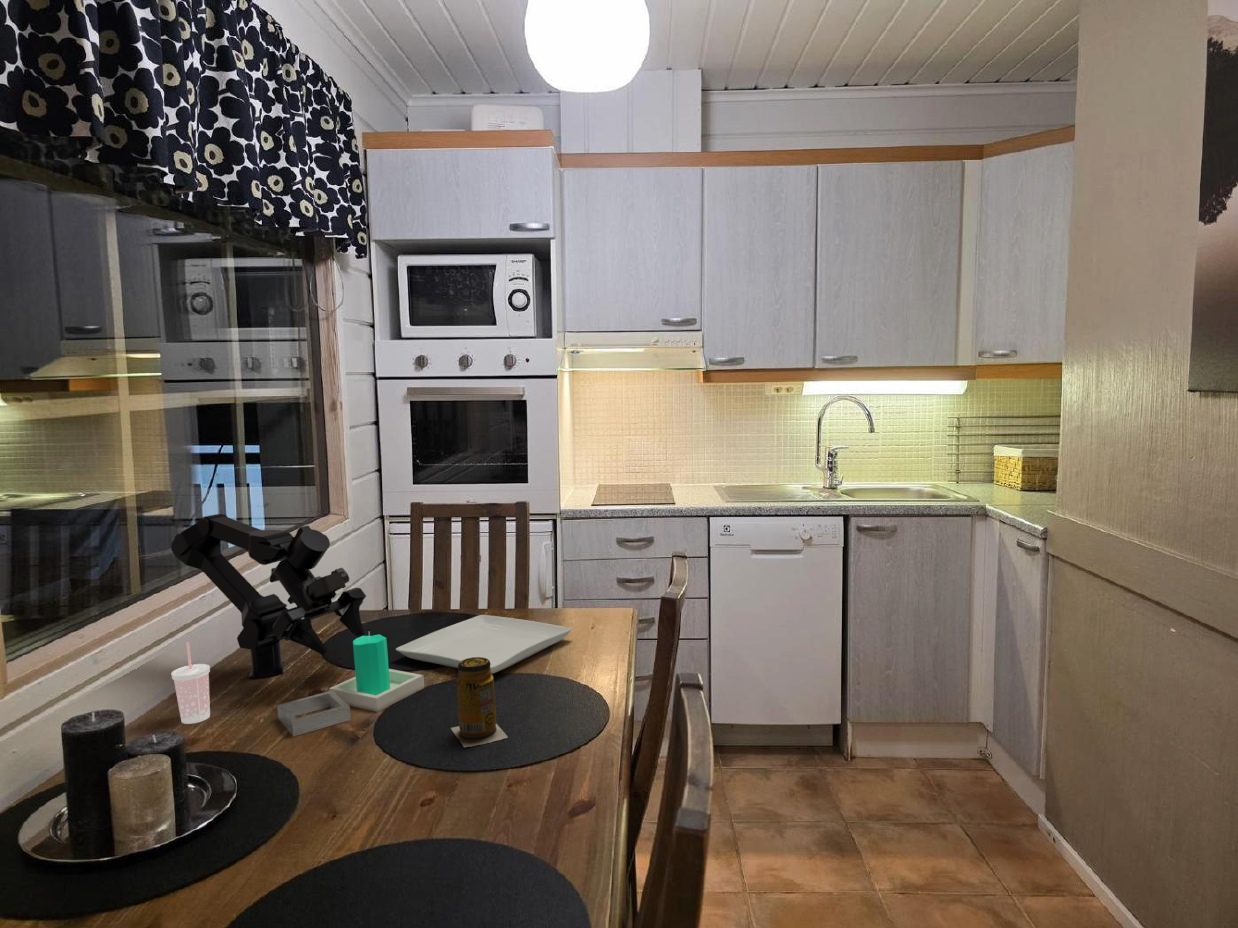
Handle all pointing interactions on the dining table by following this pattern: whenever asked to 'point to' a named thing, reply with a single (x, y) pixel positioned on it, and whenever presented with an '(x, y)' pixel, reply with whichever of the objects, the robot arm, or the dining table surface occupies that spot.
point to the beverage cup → (192, 691)
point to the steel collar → (314, 721)
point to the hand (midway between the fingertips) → (344, 645)
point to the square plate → (485, 641)
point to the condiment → (476, 704)
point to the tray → (399, 689)
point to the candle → (371, 664)
